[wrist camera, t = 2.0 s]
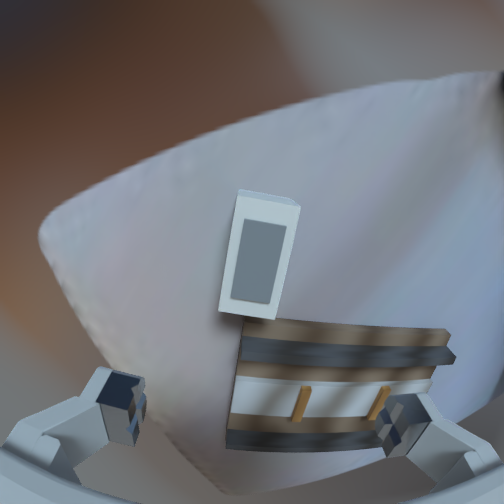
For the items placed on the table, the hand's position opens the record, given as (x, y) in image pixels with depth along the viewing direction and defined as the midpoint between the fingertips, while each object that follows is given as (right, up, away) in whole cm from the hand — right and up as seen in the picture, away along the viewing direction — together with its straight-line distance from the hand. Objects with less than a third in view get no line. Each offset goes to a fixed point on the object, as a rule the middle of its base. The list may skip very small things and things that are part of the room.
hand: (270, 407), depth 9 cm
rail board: (+9, -11, +23) cm, 28 cm away
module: (0, +6, +18) cm, 19 cm away
